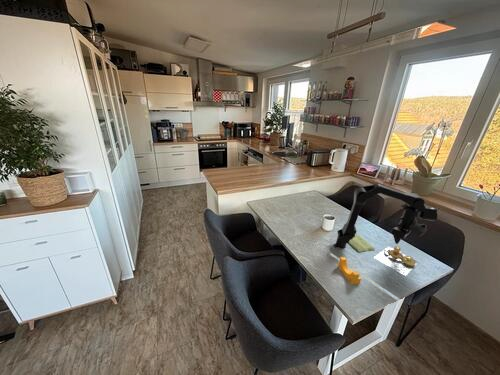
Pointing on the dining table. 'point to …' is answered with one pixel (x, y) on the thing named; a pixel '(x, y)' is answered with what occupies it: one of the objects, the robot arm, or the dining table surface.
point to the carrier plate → (397, 261)
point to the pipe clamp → (348, 271)
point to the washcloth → (360, 244)
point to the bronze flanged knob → (395, 253)
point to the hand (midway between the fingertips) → (400, 240)
